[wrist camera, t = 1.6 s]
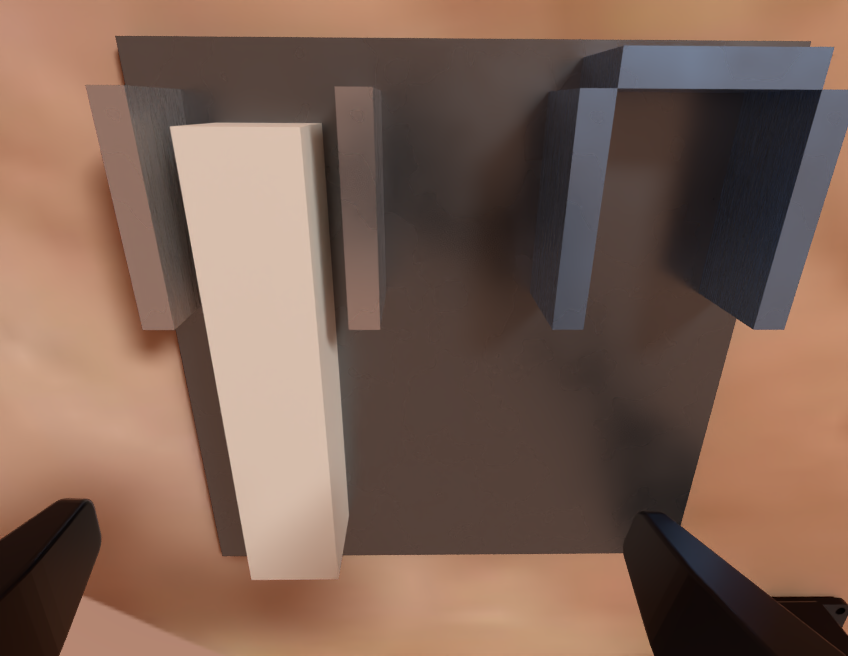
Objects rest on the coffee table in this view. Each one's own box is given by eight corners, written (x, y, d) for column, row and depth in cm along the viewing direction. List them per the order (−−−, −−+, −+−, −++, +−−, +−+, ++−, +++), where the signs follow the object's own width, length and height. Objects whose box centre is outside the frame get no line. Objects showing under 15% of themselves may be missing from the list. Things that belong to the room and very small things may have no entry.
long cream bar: (349, 515, 24) (338, 579, 21) (273, 516, 24) (251, 580, 21) (321, 123, 17) (299, 127, 14) (216, 122, 17) (169, 126, 14)
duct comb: (667, 543, 26) (710, 618, 22) (226, 546, 25) (193, 623, 21) (798, 43, 17) (907, 25, 13) (125, 38, 16) (39, 18, 13)
